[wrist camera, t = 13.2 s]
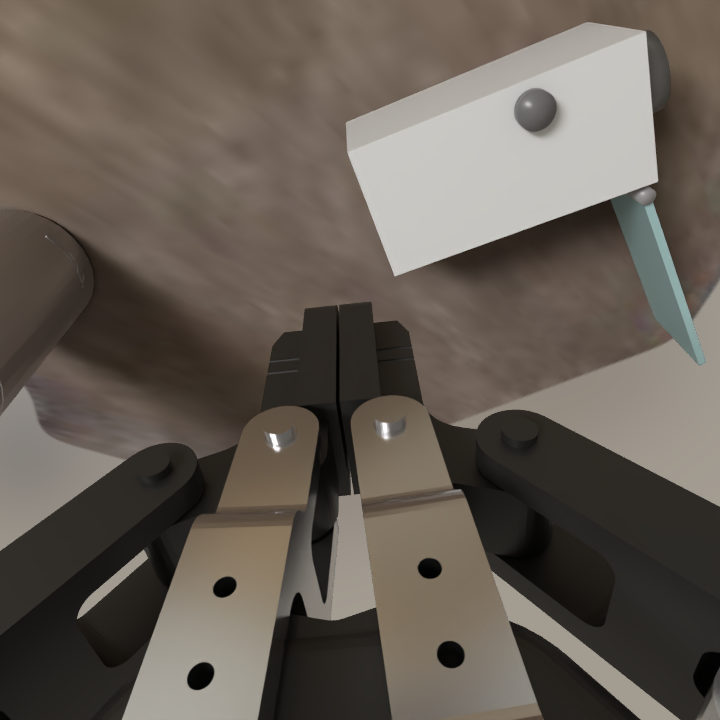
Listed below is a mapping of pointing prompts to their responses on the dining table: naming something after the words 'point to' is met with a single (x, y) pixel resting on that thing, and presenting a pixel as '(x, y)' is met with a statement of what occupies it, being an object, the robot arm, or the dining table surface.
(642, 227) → the door
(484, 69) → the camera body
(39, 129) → the dining table surface
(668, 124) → the dining table surface
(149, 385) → the dining table surface
